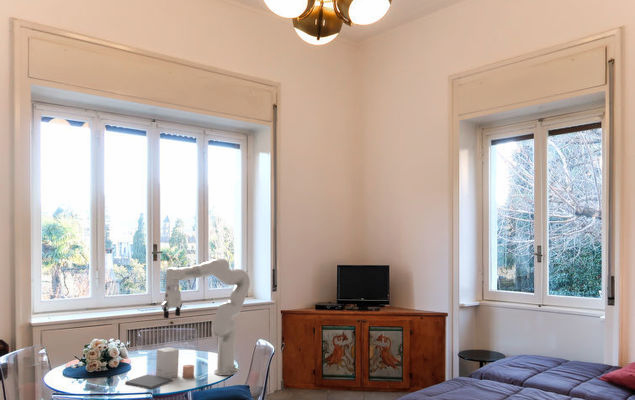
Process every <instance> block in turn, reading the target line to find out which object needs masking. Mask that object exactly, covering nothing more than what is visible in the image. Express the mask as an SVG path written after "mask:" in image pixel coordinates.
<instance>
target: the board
mask: <svg viewBox="0 0 635 400" xmlns="http://www.w3.org/2000/svg"><path fill="white" fill-rule="evenodd" d="M171 382H173V378H164V377H159V376H156V375H153V374H148V373H147V374H145V375H142V376H138V377H136V378H135V377H134V378H132V379H130V380H127V381H125V385H128V386H133V387H138V386H139V388H143V387H144V389H148V390H152V389H155V388H158V387H160V386H163V385H166V384H168V383H171Z"/></svg>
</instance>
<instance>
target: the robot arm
mask: <svg viewBox="0 0 635 400" xmlns="http://www.w3.org/2000/svg"><path fill="white" fill-rule="evenodd" d="M165 271H166V274H165V275H166V277H165V279H166V280H165V281H166V282H165V293H164V301H163V302H162V303H161V309H162V311H163V318H164V319H169V318H170V317H169V316H170V312H169V310H170V309H173V308H175V310H174V312H175V316H176V317H180V316H181V309H182V306H183V303H184V302H183V300H182V297H181V296H182V295H181V291H180V281H187V280H193V279H197V278H198V279H199V278H202V277H204V278H205V277H210V276H214V277H215V278H216V279H218V280H219V281H221V282H222V283H223V284H225V285H227V286H234V287H233V289H232V291H231V293H230V296H229V298H228V300H227V301H224V302H222V303H221V304H220V305H219V306H218V307H217V310H216V313H215V315H214V318H213V321H212V324H211V333H212V335H213V336H214V337H217V338H218V342H217V361H216V363H217V364H216V367H217V368H216V369H215V370H214V374H215V375H217V376H221V375H228V376H232V375H236V374H237V373H239V371H240V368H239V367H236V366H237V365H236V364H235V347H236V344H235V342H236V334H237V327H238V326H237V322H236V320H235V319H234V318H235V317H237V316H239V315H240V313H241V311H242V308H243V305H244V303H245V300H246V297H247V295H248V292H249V289H250V283H251V279H250V277H249V275H248V273H247V271H245V270H243V269H241V268H240V269H239V268H238V269H230V264H229V261H228V260H227V259H224V258H216V259H212V260H209V261H204V262H201V264H197V265H193V266H188V267H187V266H186V267H179V268H178V267H168V268H167V269H166V270H165Z"/></svg>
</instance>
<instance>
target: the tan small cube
mask: <svg viewBox="0 0 635 400" xmlns="http://www.w3.org/2000/svg"><path fill="white" fill-rule="evenodd" d="M182 378H183V379H186V380H188V379H193V378H195V365H194V364H185V365H182Z"/></svg>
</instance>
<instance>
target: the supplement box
mask: <svg viewBox="0 0 635 400" xmlns="http://www.w3.org/2000/svg"><path fill="white" fill-rule="evenodd" d="M179 354H180V352H179V349H178V348H174V347H170V346H169V347H163V348H157V349H156V363H155V365H156V366H155V367H156V368H155V370H156V371H155V376H159V377H164V378H170V379H173V378H176V377H177V378H178V376H179V357H180V355H179Z"/></svg>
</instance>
